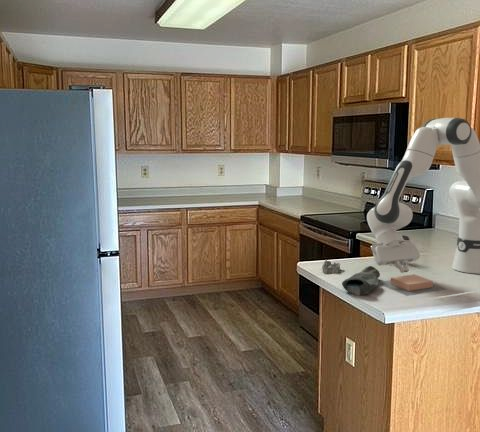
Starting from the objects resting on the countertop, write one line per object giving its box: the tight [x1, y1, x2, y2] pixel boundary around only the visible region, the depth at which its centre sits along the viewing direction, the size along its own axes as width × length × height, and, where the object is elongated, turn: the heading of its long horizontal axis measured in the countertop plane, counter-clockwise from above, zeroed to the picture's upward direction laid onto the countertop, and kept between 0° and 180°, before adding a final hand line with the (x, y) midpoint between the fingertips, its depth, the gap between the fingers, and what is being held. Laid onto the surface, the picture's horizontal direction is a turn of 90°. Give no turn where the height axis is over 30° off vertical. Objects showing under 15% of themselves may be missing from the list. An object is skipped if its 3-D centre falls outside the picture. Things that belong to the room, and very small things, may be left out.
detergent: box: [341, 265, 381, 296], centre depth 197 cm, size 13×7×25 cm
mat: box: [378, 279, 448, 297], centre depth 198 cm, size 20×18×1 cm
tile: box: [390, 274, 434, 291], centre depth 197 cm, size 12×3×10 cm
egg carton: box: [321, 259, 342, 275], centre depth 220 cm, size 10×7×4 cm
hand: (405, 271), depth 200 cm, fingers closed
